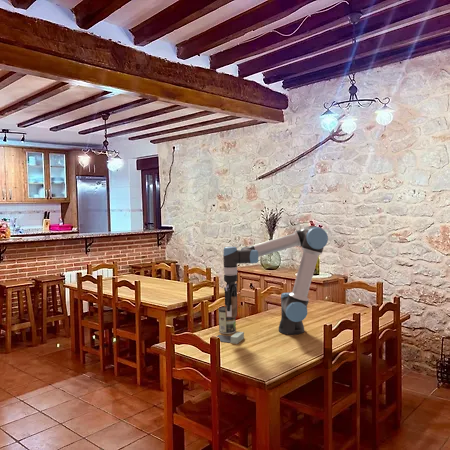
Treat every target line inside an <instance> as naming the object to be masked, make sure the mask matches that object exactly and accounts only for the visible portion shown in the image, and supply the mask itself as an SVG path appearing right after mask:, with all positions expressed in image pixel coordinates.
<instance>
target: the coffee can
mask: <svg viewBox="0 0 450 450" xmlns="http://www.w3.org/2000/svg"><path fill="white" fill-rule="evenodd" d="M236 317H237V316H236ZM236 317H235V318H228V317H226V314H225V306H220V307H218V332H219V333H220V334H221V335H233V334H235V333H236V332H237V327H236V325H237V323H236V320H237V319H236Z"/></svg>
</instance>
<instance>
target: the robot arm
mask: <svg viewBox="0 0 450 450" xmlns="http://www.w3.org/2000/svg"><path fill="white" fill-rule="evenodd" d="M328 240H329V236H328V234H327V232H326V231H325V229H323V228H322V227H320V226H316V225H308V226H306V227H304V228H301V229H297V230H294V232H293V233H291V234H287V235H283V236H281V237H277V238H273V239H269V240H266V241H263V242H260V243H255V244H253V245H250V246H244V247H242V248H241V249H237V248H238V247H236V246H225V247H224V248H223V255H222V256H223V269H222V270H223V274H224V275H223V281H224V282H225V283H226V286H224V287H223V289H224V306H225V305H227V317H232V305H231V297H232V296H236V297H237V298H238V283H236V282H238V264H252V265H253V264H257V263H259V257H263V256H265V255H270V254H273V253H276V252H279V251H284V250H287V249H291V248H294V247H299V248H300V247H301V249H302V251H303V252H302V256H301V259H300V263H299V266H298V270H297V273H296V276H295V280H294V285H293V288H292V291H291V292H282V293H281V295H280V300H281V301H280V304H281V305H280V307H281V317H280V322H279V326H278V332H279V333H280V334H284V335H293V336H294V335H301V334H303V333H304V332H305V325H304V323H303V321H304V320H305V319H306V317H307V315H308V304H309V301H310V299H309V297H308V295H309V291H310V289H311V288H310V287H311V285H312V284H311V283H312V279H313V276H314V272H315V269H316V265H317V262H318V259H319V256H320V255H322V254H323V251H324V248H325V247H326V246H327V243H328Z"/></svg>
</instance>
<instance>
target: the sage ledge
mask: <svg viewBox="0 0 450 450" xmlns="http://www.w3.org/2000/svg"><path fill="white" fill-rule="evenodd" d="M230 336H231V342H230V344H235V345H236V344H237V345H238V344H239V343H241V341H243V339H245V332H244V331H236V332H235V333H233V334H231V335H230Z"/></svg>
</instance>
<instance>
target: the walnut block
mask: <svg viewBox="0 0 450 450" xmlns="http://www.w3.org/2000/svg"><path fill="white" fill-rule="evenodd" d="M231 305H232V317H228V318H235V317H238V296H237V297H236V296H232V297H231ZM224 307H225V314H226V317H227V305H225V304H224Z"/></svg>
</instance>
